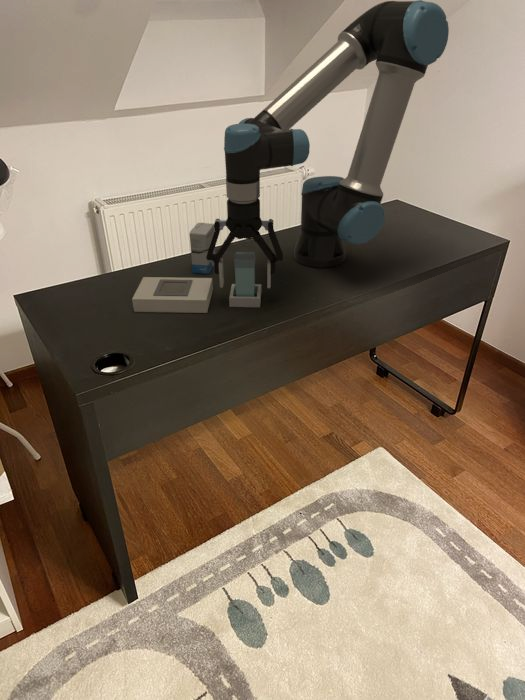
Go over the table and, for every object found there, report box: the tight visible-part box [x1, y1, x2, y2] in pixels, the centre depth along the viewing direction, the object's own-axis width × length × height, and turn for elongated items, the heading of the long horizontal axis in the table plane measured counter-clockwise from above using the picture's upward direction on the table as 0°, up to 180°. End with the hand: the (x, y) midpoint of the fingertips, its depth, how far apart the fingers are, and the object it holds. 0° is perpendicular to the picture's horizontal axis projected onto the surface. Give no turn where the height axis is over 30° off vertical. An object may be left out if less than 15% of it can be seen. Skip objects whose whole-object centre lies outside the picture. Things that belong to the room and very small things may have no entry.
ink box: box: [189, 222, 217, 275], centre depth 146 cm, size 8×5×12 cm, turn 168°
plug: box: [233, 251, 256, 297], centre depth 130 cm, size 5×5×12 cm
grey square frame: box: [228, 283, 262, 308], centre depth 133 cm, size 8×8×2 cm
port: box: [131, 276, 214, 314], centre depth 132 cm, size 18×12×4 cm, turn 88°
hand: (245, 285), depth 131 cm, fingers open, 11 cm apart
